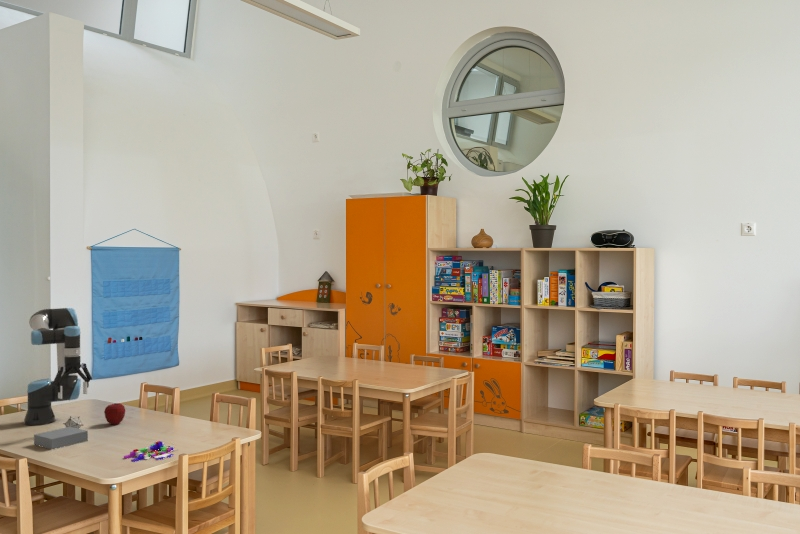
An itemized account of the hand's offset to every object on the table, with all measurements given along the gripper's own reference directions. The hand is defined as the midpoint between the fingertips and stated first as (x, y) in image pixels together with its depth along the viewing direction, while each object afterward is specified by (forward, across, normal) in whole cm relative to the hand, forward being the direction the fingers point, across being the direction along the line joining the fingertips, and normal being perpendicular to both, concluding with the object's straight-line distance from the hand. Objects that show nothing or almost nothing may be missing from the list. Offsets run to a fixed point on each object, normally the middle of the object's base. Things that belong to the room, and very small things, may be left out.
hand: (72, 396), depth 343 cm
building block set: (+20, -2, -71) cm, 74 cm away
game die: (+19, 0, 0) cm, 19 cm away
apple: (+19, +22, -3) cm, 29 cm away
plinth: (+19, -15, -15) cm, 28 cm away
